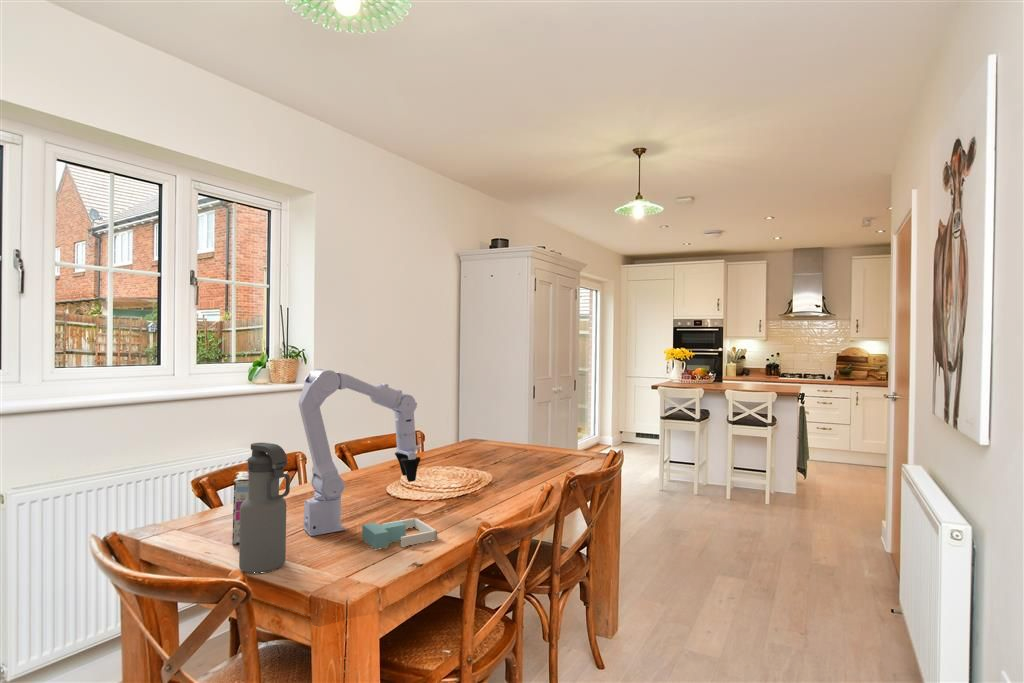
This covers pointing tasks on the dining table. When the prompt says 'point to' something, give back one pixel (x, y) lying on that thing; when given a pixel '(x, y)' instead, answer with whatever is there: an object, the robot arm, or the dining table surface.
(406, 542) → the white u-shaped bracket
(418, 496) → the dining table surface
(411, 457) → the robot arm
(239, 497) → the candy bar box
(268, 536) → the water bottle
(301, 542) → the dining table surface
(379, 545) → the t block
